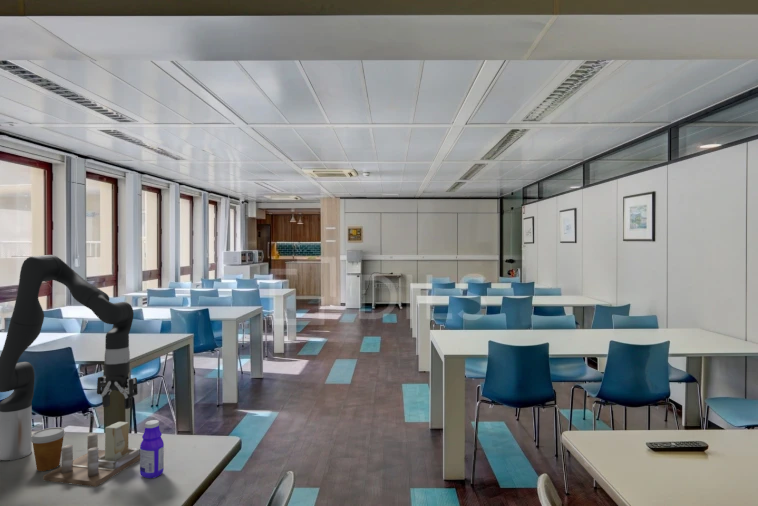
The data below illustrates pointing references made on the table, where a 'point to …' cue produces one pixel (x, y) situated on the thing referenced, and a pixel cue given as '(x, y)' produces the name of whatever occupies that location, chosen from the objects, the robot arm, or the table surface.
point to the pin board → (83, 472)
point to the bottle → (151, 451)
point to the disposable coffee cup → (48, 447)
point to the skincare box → (116, 441)
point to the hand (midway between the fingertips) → (117, 407)
